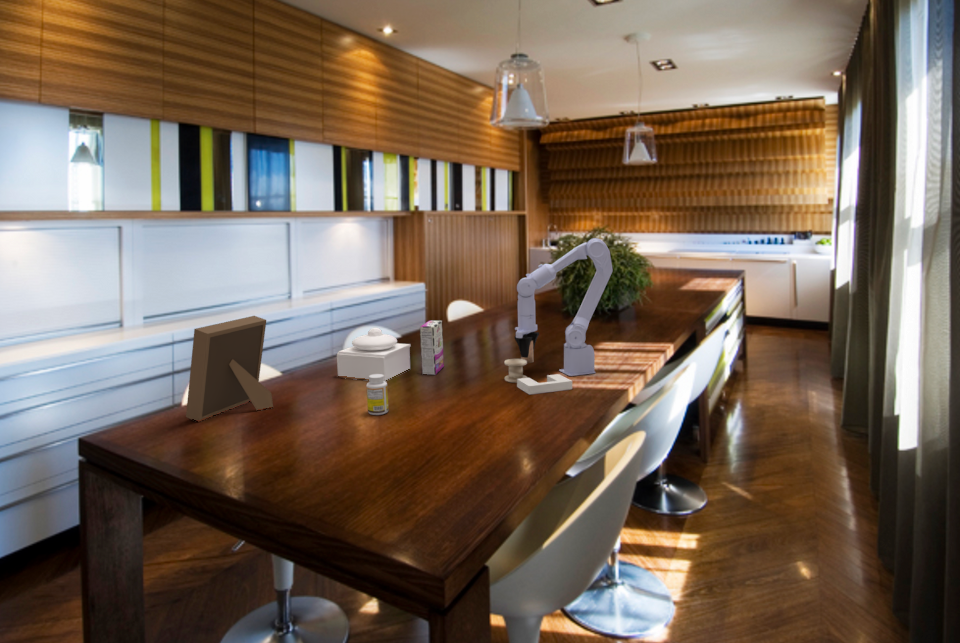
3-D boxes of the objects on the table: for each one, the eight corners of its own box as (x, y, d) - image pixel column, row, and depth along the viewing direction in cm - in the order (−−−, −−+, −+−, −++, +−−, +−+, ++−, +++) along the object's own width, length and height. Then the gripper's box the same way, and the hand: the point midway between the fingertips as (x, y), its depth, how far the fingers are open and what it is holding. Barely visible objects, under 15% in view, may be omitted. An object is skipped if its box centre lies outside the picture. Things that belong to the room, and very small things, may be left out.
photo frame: (186, 420, 171) (177, 327, 167) (244, 398, 191) (238, 314, 187) (229, 427, 166) (222, 331, 161) (285, 403, 186) (280, 317, 181)
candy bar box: (430, 366, 225) (428, 320, 222) (444, 367, 224) (442, 320, 221) (421, 375, 214) (419, 326, 211) (435, 375, 213) (434, 326, 210)
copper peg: (530, 359, 216) (530, 339, 215) (535, 362, 212) (535, 341, 211) (519, 361, 215) (518, 340, 213) (524, 363, 211) (523, 342, 210)
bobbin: (521, 375, 210) (521, 357, 209) (530, 381, 203) (530, 362, 202) (501, 378, 207) (501, 359, 206) (509, 383, 201) (509, 364, 200)
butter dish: (338, 378, 213) (335, 330, 210) (367, 365, 229) (365, 321, 226) (384, 382, 206) (382, 333, 203) (411, 369, 223) (409, 323, 220)
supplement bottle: (379, 408, 179) (377, 372, 177) (392, 411, 175) (391, 375, 173) (363, 413, 175) (361, 376, 173) (377, 417, 171) (375, 379, 169)
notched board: (558, 381, 202) (558, 374, 201) (572, 389, 193) (572, 380, 193) (517, 386, 197) (517, 378, 196) (529, 394, 189) (529, 386, 188)
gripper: (523, 311, 219) (523, 350, 221) (506, 317, 206) (507, 359, 208) (543, 311, 216) (543, 351, 218) (527, 318, 203) (528, 361, 205)
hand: (527, 355), depth 213 cm, fingers closed on copper peg, 4 cm apart
